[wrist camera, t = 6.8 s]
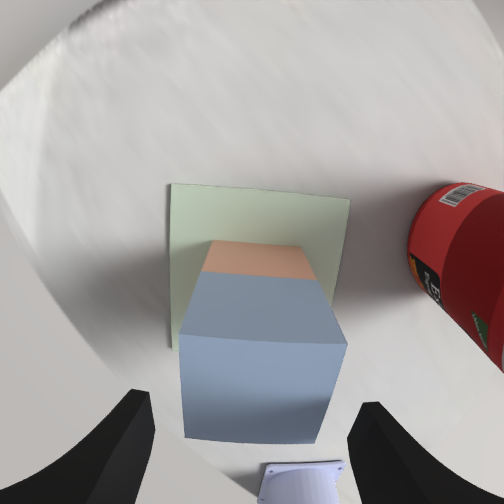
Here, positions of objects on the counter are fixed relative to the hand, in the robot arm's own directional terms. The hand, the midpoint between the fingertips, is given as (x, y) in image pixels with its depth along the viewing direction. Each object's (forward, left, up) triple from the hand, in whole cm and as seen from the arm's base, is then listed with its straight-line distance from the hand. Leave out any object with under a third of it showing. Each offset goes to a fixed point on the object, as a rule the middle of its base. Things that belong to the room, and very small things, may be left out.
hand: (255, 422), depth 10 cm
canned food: (+5, -13, -11) cm, 17 cm away
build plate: (+1, 0, -10) cm, 10 cm away
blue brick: (+1, 0, -5) cm, 5 cm away
